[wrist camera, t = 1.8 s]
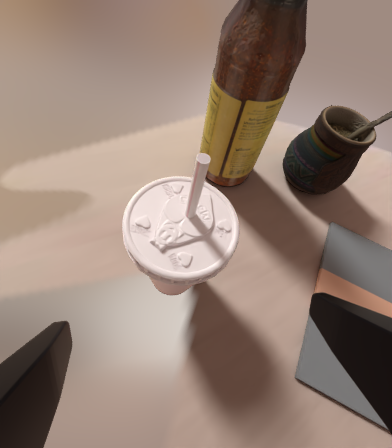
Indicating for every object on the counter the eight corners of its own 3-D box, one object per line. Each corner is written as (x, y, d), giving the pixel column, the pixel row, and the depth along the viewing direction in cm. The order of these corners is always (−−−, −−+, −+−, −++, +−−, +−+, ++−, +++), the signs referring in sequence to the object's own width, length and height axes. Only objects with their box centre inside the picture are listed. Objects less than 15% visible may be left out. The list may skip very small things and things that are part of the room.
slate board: (447, 463, 17) (453, 465, 17) (294, 377, 19) (297, 378, 18) (436, 275, 25) (440, 274, 25) (329, 223, 26) (332, 221, 26)
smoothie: (221, 272, 22) (304, 170, 10) (174, 329, 19) (206, 287, 7) (170, 228, 23) (186, 91, 11) (119, 276, 20) (63, 161, 8)
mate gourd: (265, 158, 30) (311, 77, 21) (315, 153, 32) (375, 78, 23) (290, 206, 27) (356, 134, 18) (343, 197, 29) (426, 129, 20)
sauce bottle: (253, 159, 29) (392, -117, 12) (241, 197, 26) (404, -102, 9) (204, 141, 30) (270, -155, 12) (186, 176, 27) (242, -153, 9)
